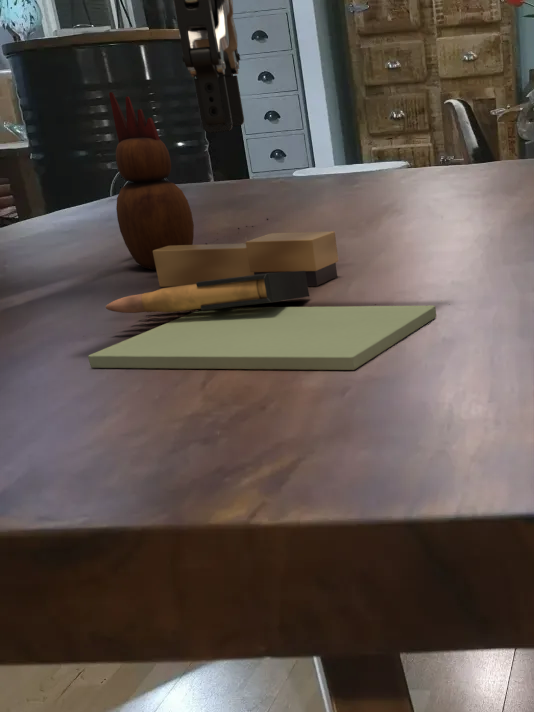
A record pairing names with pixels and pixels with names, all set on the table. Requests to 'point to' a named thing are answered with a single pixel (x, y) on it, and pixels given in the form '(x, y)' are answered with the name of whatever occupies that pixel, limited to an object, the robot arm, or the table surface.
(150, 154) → the wooden figurine
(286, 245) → the brush
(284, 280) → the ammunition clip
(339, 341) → the felt mat
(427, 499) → the table surface
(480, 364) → the table surface
